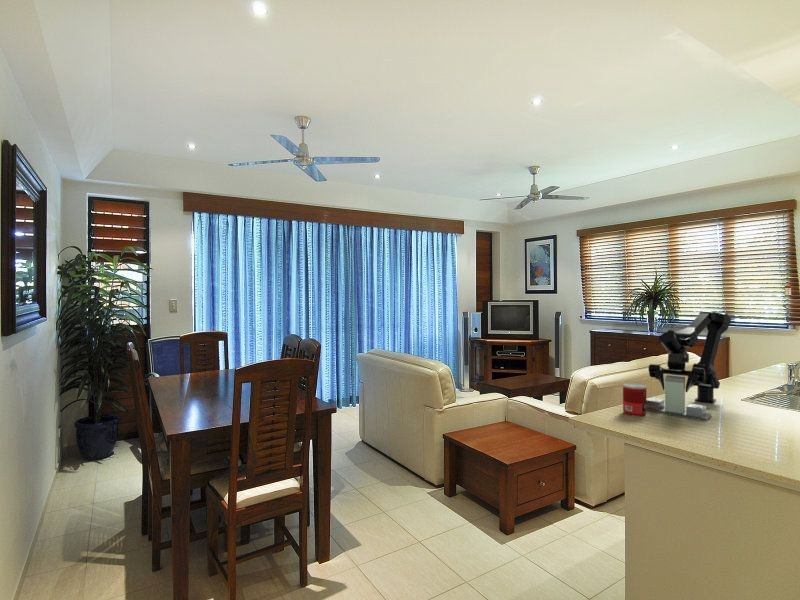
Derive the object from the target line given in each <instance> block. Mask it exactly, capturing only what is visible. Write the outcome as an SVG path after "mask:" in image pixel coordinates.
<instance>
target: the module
mask: <svg viewBox="0 0 800 600" xmlns="http://www.w3.org/2000/svg"><path fill="white" fill-rule="evenodd" d="M664 386H665V388H664V406H665V411H670V412H677V413H684V411H685V410H686V391H685V390H686V376H680V375H670V374H666V375H665V377H664Z"/></svg>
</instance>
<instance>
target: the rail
mask: <svg viewBox="0 0 800 600" xmlns="http://www.w3.org/2000/svg"><path fill="white" fill-rule="evenodd" d="M646 412H651V413H656V414H662V413H663V414H662V415H667V414H669V415H668V416H673V415H674V417H678V418H685V417H686V418H687V419H691V418H693V420H697V419H699V420H698V421H703V420H707V421H709V419H711V418H712V413H708V412H707V405H704V404H703V405H702V404H696V403H689V404H688V405H685V411H684V413H677V412H670V411H665V398H664V399H663V398H657V397H649V398H646Z"/></svg>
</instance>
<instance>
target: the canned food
mask: <svg viewBox="0 0 800 600" xmlns="http://www.w3.org/2000/svg"><path fill="white" fill-rule="evenodd" d="M646 400H647V385H644V384H640V383H629V382H628V383H623V385H622V412H623V413H624V414H626V415H628V416H632V415H634V416H635V417H645V416H646V414H647V411H646ZM634 416H633V417H634Z"/></svg>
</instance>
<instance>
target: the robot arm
mask: <svg viewBox="0 0 800 600" xmlns="http://www.w3.org/2000/svg"><path fill="white" fill-rule="evenodd" d="M731 322H732V317H731V316H729V314H728V313H724V312H723V313H719V312H716V311H713V310H701V311H700V312H699V313H698V315H697V316H696V317H695V319H694V320H693V321H691V323H689V324H688V326H686V327H685V328H682V329H680V330H678V331H677V332H675V330H671V329H668V330H667V331H666V332H663V333H661V334H660V335H659V337H658V340H659V342H660V343H661V345H662V346H663V347H664V349H665V350H666V351H667V352H669V353H668V355H667V368H666V367H665V368H664V367H662V366H661V364H654V363H653V364H652V363H650V364H649V365H648V375H649V377H650V378H655V379H656V380H658V381H659V383H660V386H661V387H662V390H663V391H665V377H664V374H665V375H670V376H679V377H687V381H686V383H685V394H686V393H688V392H689V390H690V389H691V388H692V387H693V386H696V388H697V397H696V398H695V399H694V401H696V402H703V403H709V404H710V403H711V404H713V403H715V402H716V401H717V399H715V398H714V397H715V396H714V393H715V392H714V391H715V389H716V390H717V389H719V388H720V385H721V382H720V381H719V380H718V377H717V376H716V375H717V372H716V368H715V366H714V363H715V360H716V356H717V352H718V348H719V345H720V341H721V337H722V335H723V334H724V333H725V332H726V331H727V330H728V329H729V327H730V324H731ZM705 328H706V329H707V334H706V336H705V340H704V345H703V349H702V352H701V355H700V360H699V362H698V363H693V365H692V368H691V370H686V363H687V364H688V363H690V360H689V359H690V354H689V352H687V348H693V347H695V345H696V344H697V343H698V341H699V337H698V336H699V335H700V334H701V333H702V331H704V330H705Z"/></svg>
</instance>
